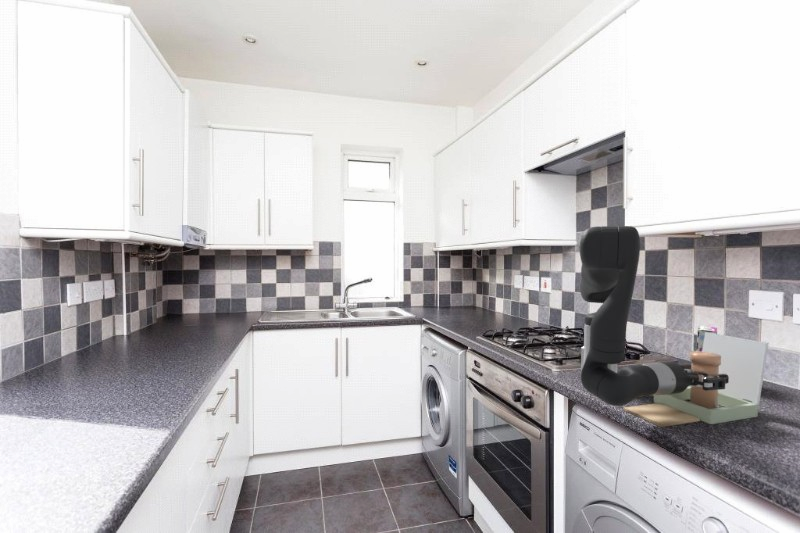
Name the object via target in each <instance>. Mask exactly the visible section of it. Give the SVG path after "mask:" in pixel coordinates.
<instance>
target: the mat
mask: <svg viewBox="0 0 800 533" xmlns="http://www.w3.org/2000/svg"><path fill="white" fill-rule="evenodd" d="M623 411H625V412H627V413H629V414H631V415H634V416H636V417H638V418H640V419H643V420H646V421H647V422H649V423H651V424H653V425H655V426H658V427H660V428H665V427H670V426H675V425H676V426H677V425H684V424H690V423H696V422H700V421H701V420H700V418H697V417H695V416H692V415H690V414H687V413H685V412H682V411H679V410H677V409H674V408H672V407H669V406H666V405H664V404H661V403H655V402H653V403H647V404H640V405H632V406H625V407H623Z"/></svg>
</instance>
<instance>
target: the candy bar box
mask: <svg viewBox="0 0 800 533" xmlns="http://www.w3.org/2000/svg"><path fill="white" fill-rule="evenodd" d="M705 332H709V333H715V334H718V328H717V327H715V326H714V327H713V326H706V325H698V327H697V332H696V333H697V335H696V337H697V338H696V351H702V349H703V343H704V337H705Z"/></svg>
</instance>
